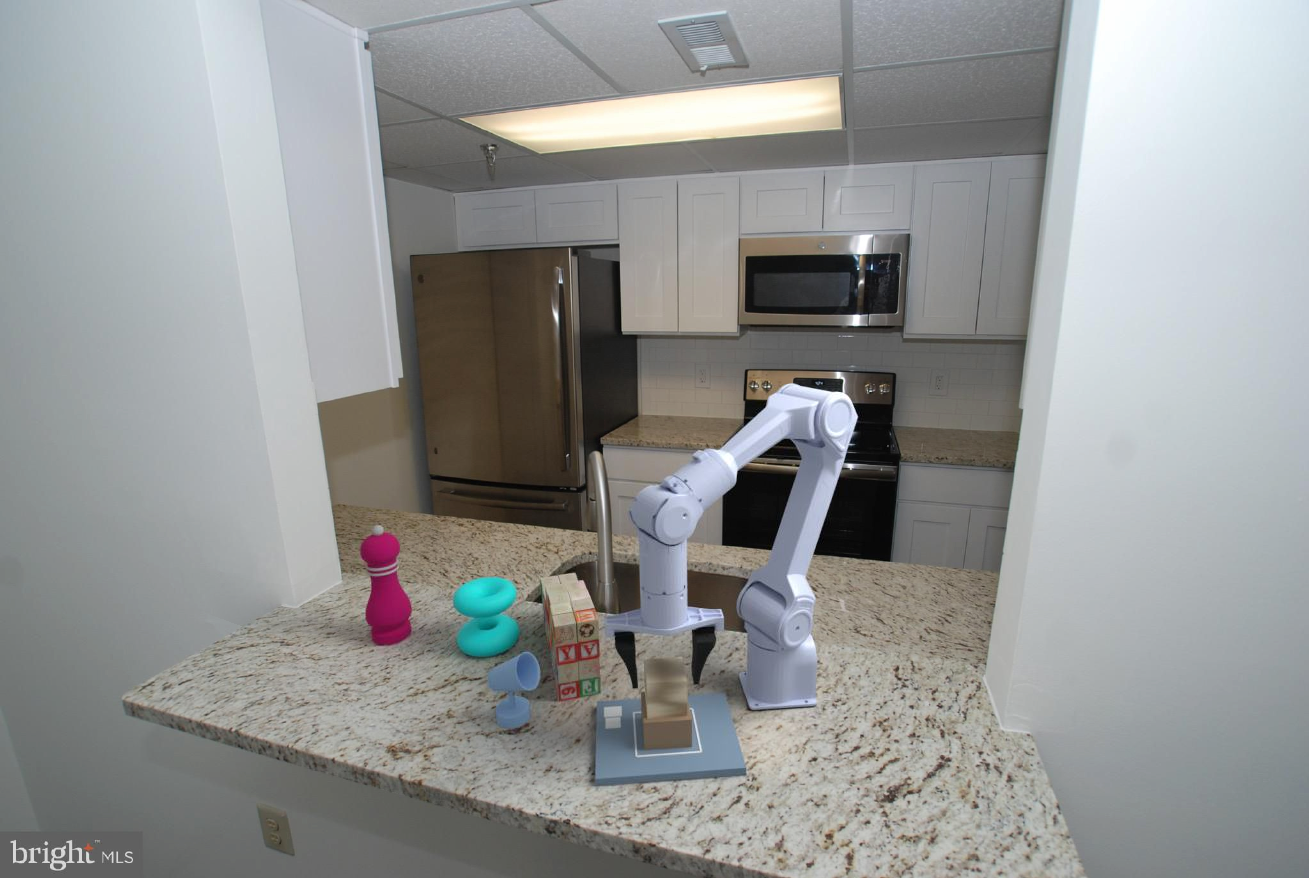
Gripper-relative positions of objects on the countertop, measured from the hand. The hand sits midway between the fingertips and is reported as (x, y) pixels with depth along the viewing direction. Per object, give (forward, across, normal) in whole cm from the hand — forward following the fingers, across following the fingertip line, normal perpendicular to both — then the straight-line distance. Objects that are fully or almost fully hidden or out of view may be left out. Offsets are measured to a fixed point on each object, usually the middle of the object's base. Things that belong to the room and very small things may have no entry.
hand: (665, 681), depth 79 cm
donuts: (+9, +27, -25) cm, 38 cm away
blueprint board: (+8, 0, 0) cm, 8 cm away
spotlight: (+9, +20, -6) cm, 23 cm away
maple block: (+3, 0, 0) cm, 3 cm away
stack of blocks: (+9, +14, -20) cm, 25 cm away
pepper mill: (+9, +44, -29) cm, 53 cm away
